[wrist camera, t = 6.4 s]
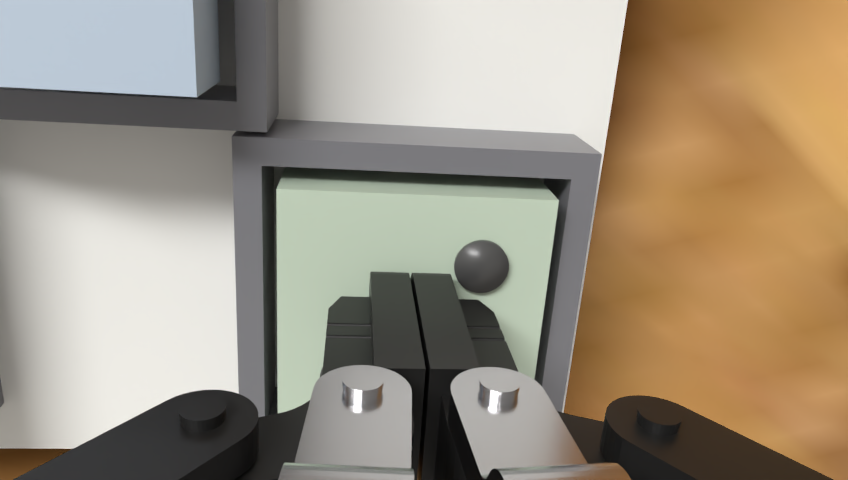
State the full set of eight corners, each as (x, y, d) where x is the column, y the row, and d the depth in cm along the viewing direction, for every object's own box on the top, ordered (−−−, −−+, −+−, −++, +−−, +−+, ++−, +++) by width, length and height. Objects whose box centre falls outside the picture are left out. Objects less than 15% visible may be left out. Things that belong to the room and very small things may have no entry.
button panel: (629, -243, 14) (721, -321, 10) (538, 404, 19) (579, 501, 15) (-503, -364, 12) (-873, -512, 8) (-266, 396, 17) (-433, 505, 13)
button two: (535, 174, 14) (561, 202, 12) (509, 387, 16) (527, 439, 14) (286, 163, 14) (275, 190, 12) (286, 384, 15) (277, 437, 14)
